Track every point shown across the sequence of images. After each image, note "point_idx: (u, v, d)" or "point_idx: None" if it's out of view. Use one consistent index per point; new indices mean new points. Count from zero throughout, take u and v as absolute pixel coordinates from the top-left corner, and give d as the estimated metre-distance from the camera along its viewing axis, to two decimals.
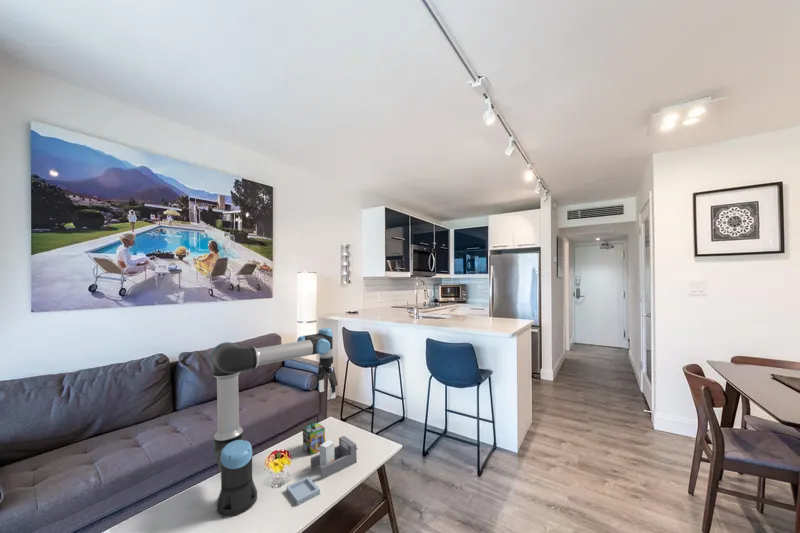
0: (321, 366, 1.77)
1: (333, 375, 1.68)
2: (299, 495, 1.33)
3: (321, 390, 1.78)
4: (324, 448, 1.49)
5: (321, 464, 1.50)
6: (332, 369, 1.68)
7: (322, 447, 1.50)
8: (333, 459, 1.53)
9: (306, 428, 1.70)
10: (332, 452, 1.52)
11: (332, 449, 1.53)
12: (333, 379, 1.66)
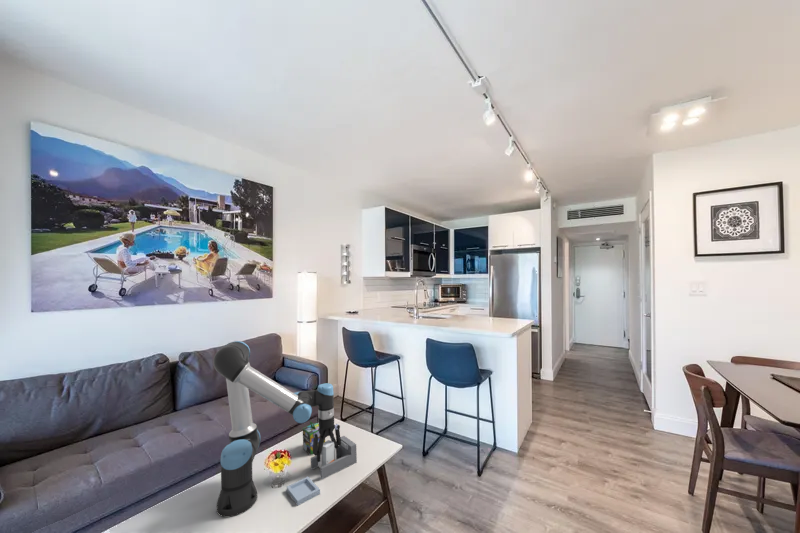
0: (335, 427, 1.56)
1: (314, 442, 1.48)
2: (299, 495, 1.33)
3: None
4: (324, 448, 1.49)
5: None
6: (314, 436, 1.48)
7: (322, 447, 1.50)
8: (333, 459, 1.53)
9: (306, 428, 1.70)
10: (332, 452, 1.52)
11: (333, 449, 1.53)
12: (313, 446, 1.48)
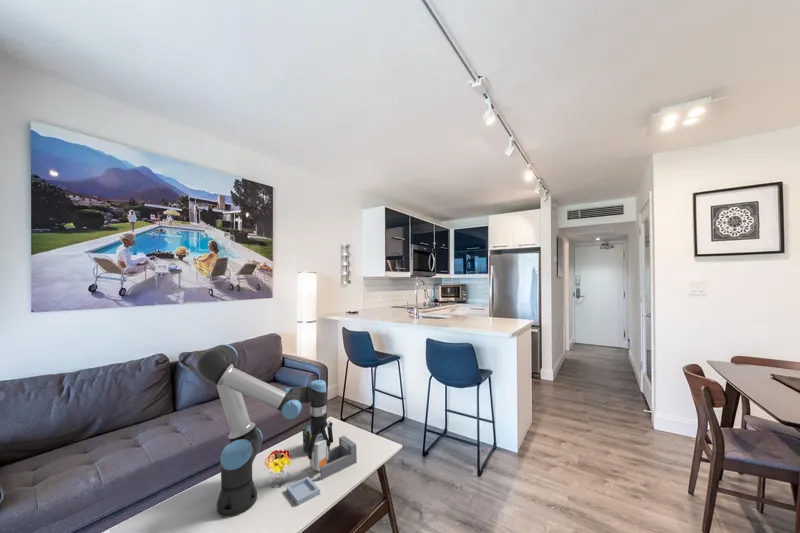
0: None
1: (306, 440, 1.46)
2: (299, 495, 1.33)
3: None
4: (315, 446, 1.47)
5: None
6: (305, 433, 1.46)
7: (314, 445, 1.47)
8: (325, 457, 1.50)
9: (306, 428, 1.70)
10: (324, 450, 1.50)
11: (324, 447, 1.50)
12: (305, 444, 1.46)
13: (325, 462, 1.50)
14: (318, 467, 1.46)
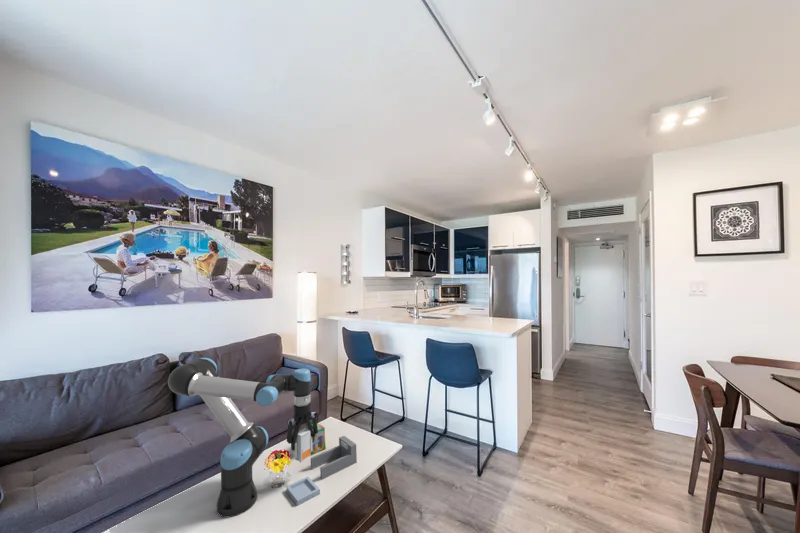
0: None
1: (288, 430, 1.41)
2: (299, 495, 1.33)
3: None
4: (299, 437, 1.42)
5: None
6: (288, 423, 1.41)
7: (297, 435, 1.42)
8: (309, 448, 1.45)
9: (306, 428, 1.70)
10: (308, 441, 1.45)
11: (308, 438, 1.45)
12: (287, 434, 1.41)
13: (309, 453, 1.45)
14: (301, 458, 1.41)
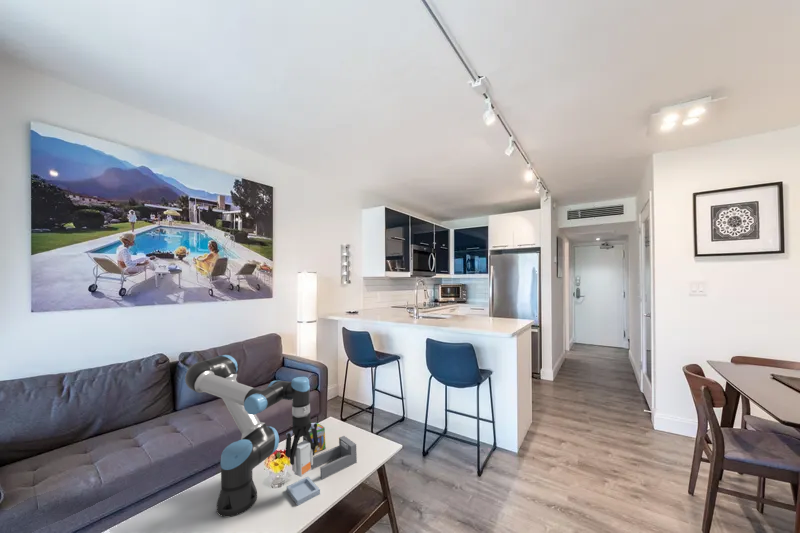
0: None
1: (287, 443, 1.32)
2: (299, 495, 1.33)
3: None
4: (298, 450, 1.33)
5: None
6: (286, 436, 1.32)
7: (296, 448, 1.34)
8: (309, 461, 1.36)
9: None
10: (308, 454, 1.36)
11: (308, 451, 1.36)
12: (286, 447, 1.32)
13: (309, 467, 1.36)
14: (301, 473, 1.33)
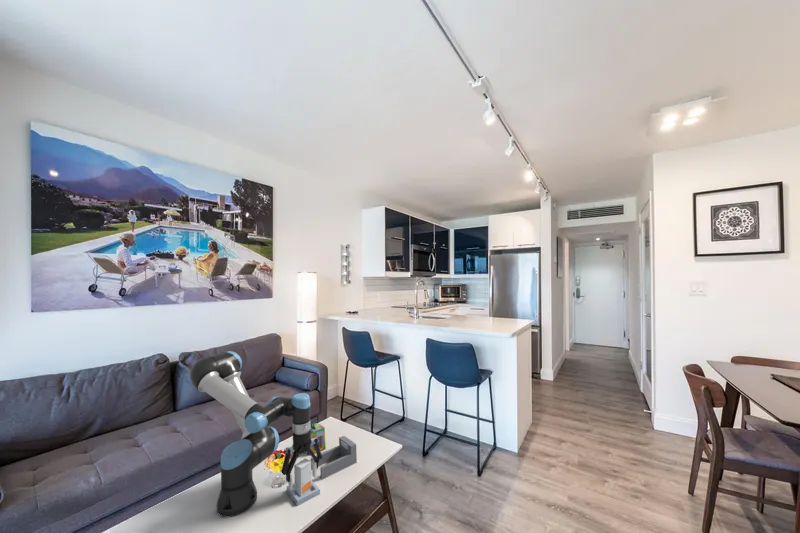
0: None
1: (285, 459, 1.31)
2: None
3: (313, 475, 1.39)
4: (298, 469, 1.33)
5: (296, 486, 1.34)
6: (286, 451, 1.32)
7: (297, 467, 1.34)
8: (310, 480, 1.36)
9: None
10: (308, 473, 1.36)
11: (309, 470, 1.36)
12: (283, 464, 1.31)
13: (310, 486, 1.36)
14: (301, 492, 1.32)
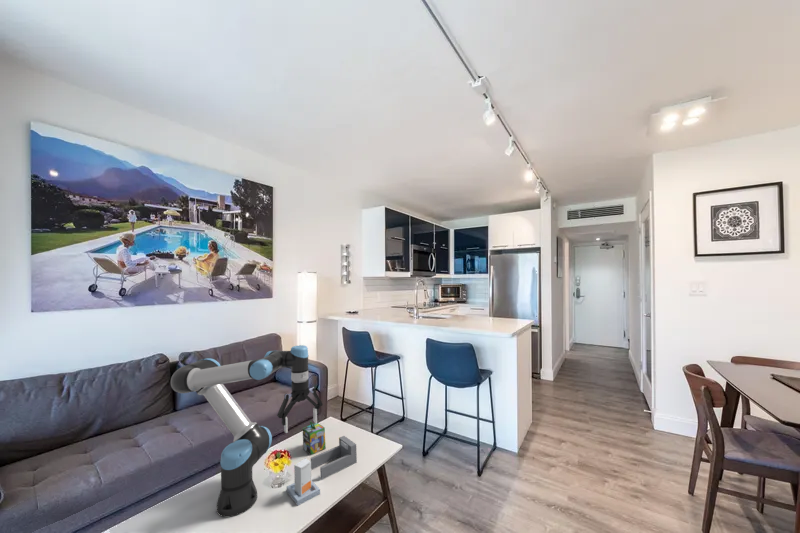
0: None
1: (282, 404, 1.38)
2: None
3: (314, 420, 1.46)
4: (298, 469, 1.33)
5: (296, 486, 1.34)
6: (285, 396, 1.39)
7: (297, 467, 1.34)
8: (310, 480, 1.36)
9: (306, 428, 1.70)
10: (308, 473, 1.36)
11: (309, 470, 1.36)
12: (280, 408, 1.38)
13: (310, 486, 1.36)
14: (301, 492, 1.32)
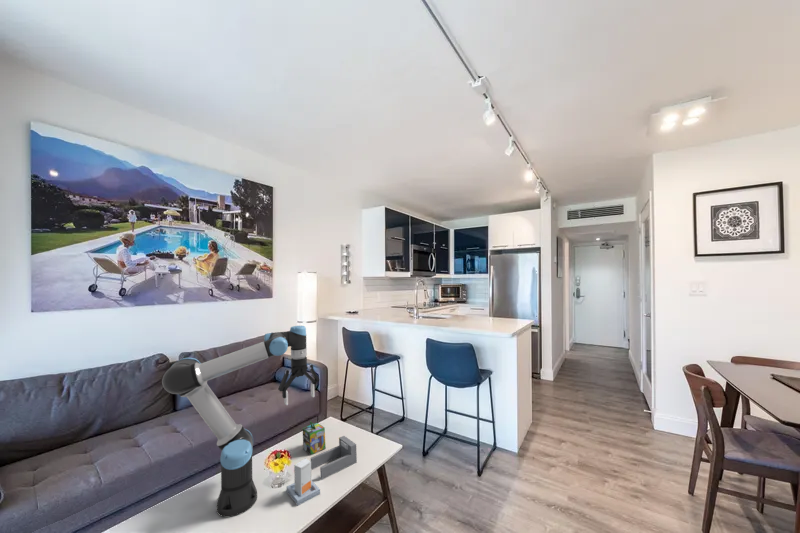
0: None
1: (283, 378, 1.50)
2: None
3: (311, 394, 1.59)
4: (298, 469, 1.33)
5: (296, 486, 1.34)
6: (285, 372, 1.50)
7: (297, 467, 1.34)
8: (310, 480, 1.36)
9: (306, 428, 1.70)
10: (308, 473, 1.36)
11: (309, 470, 1.36)
12: (281, 382, 1.50)
13: (310, 486, 1.36)
14: (301, 492, 1.32)
